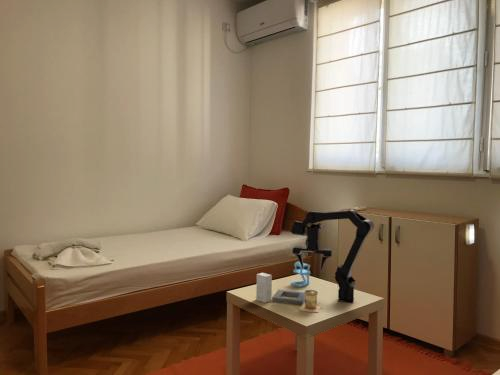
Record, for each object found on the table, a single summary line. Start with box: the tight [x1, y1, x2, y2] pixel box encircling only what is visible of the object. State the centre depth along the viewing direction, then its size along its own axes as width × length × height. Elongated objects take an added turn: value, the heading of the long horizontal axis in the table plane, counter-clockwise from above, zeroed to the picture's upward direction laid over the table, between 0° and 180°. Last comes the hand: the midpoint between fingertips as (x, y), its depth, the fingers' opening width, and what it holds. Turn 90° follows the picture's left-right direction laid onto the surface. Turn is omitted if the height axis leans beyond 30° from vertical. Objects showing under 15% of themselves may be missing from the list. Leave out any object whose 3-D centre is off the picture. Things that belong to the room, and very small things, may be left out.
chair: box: [290, 261, 312, 288], centre depth 210 cm, size 8×8×12 cm
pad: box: [299, 302, 322, 314], centre depth 176 cm, size 8×8×1 cm
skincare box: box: [255, 272, 273, 304], centre depth 185 cm, size 6×4×12 cm
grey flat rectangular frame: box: [271, 289, 305, 306], centre depth 188 cm, size 14×12×2 cm
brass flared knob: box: [304, 289, 319, 310], centre depth 176 cm, size 6×6×7 cm
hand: (312, 268), depth 196 cm, fingers open, 9 cm apart
